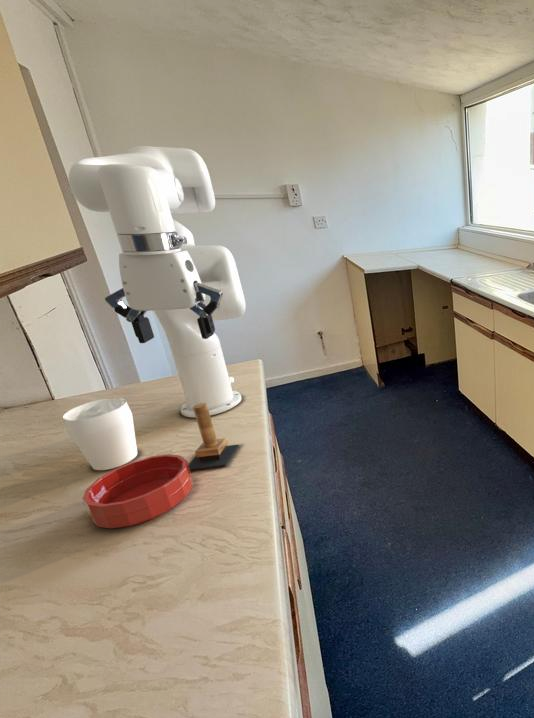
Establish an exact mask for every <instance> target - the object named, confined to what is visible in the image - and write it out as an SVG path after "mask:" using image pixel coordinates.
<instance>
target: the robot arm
mask: <svg viewBox="0 0 534 718" xmlns="http://www.w3.org/2000/svg"><path fill="white" fill-rule="evenodd" d="M68 172H69V173H68V185H69V189H70V191H71V193H72V195H73V197H74V199H75V200H76V201H77V202H78V203H79V204H80V205H81V206H82V207H83V208H85V209H86V210H90V211H93V212H99V213H109V214H110V218H111V221H112V225H113V227H114V230H115V233H116V237H117V238H118V243H119V245H120V249H121V251H122V252H121V253H118V267H119V268H118V269H119V276H120V281H121V285H122V288H120V289H118V290H116V291H115V292H112V293H110V294H109V295H107V296H105V297H104V301H105V302H106V303H107V304H108V305H109V306H110V307H111V308H112V309H114V312H115V313H116V314H118V315H119V316H121V317H123V318H125V320H126V322H128V323H131V326H132V330H133V332H134V335H135V337H136V338H137V339H138V343H139V344H146V343H147V342H149V341H151V340H152V339H154V338H155V334H154V331H153V328H152V325H151V322H150V319H149V318H148V317H147V316H145V315H146V313H147V312H150V311H151V312H152V311H154V314H155V316H156V318H157V319H158V322H159V324H160V325H161V327H162V329H163V331H164V334H165V336H166V340H167V342H168V345H169V348H170V352H171V355H172V358H173V361H174V362H173V363H174V364H175V368H176V371H177V375H178V378H179V381H180V384H181V388H182V392H183V394H184V399H185V401H186V402H185V403H183V404H182V406H180V412H181V415H182V416H184V417H187V418H196V416H195V413H194V410H193V406H195V405H197V404H200V403H206V404H207V407H208V410H209V414H210V417H211V416H215V415H218V414H221V413H224V412H227V411H230V410H231V409H233V408H235V407H236V406H237V405H238V404H240V403H241V401H242V394H241V393H240V392H239V391H236V390H233V388H232V384H233V383H234V382H235V378H234V377H233V376H229V375H230V374H229V372H228V368H227V365H226V360H225V357H224V352H223V348H222V345H221V341H220V338H219V336H218V335H217V333H215V332H216V327H215V323H214V322H218V321H224V320H225V321H226V320H233V319H236V318H239V317H242V316H243V315H244V314H245V312H246V309H247V305H246V304H247V303H246V298H245V294H244V291H243V286H242V283H241V282H242V281H241V278H240V274H239V270H238V267H237V264H236V260H235V257H234V255H233V254H232V252H231V251H230V250H229V248H227V246H226V247H225V246H223V245H220V244H219V245H218V244H206V245H204V244H203V245H196V244H195V239H194V235H193V233H192V231H190V230H189V228H187V227H186V226H185V225H184V224H182V223H180V222H179V221H177V220H175V219H174V218H173V216H172V214H206V213H210V212H212V211H213V210H214V209H215V207H216V197H215V192H214V189H213V188H214V187H213V184H212V180H211V176H210V172H209V170H208V166H207V163H206V162H205V161H204V159H203V157H202V156H201V155H200V154H199V153H197V152H196V150H193V149H191V148H187V147H174V146H173V147H171V146H153V145H137V146H133V147H132V146H131V147H130V148H129V149H127V150H126V151H125V152H124V153H118V154H111V155H104V156H94V157H85V158H82V159H79V160H77V161H75V162H73V164H72V165H71V167H70V169H69V171H68ZM123 298H125V299H126V302H127V304H125V303H124V301H123Z"/></svg>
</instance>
